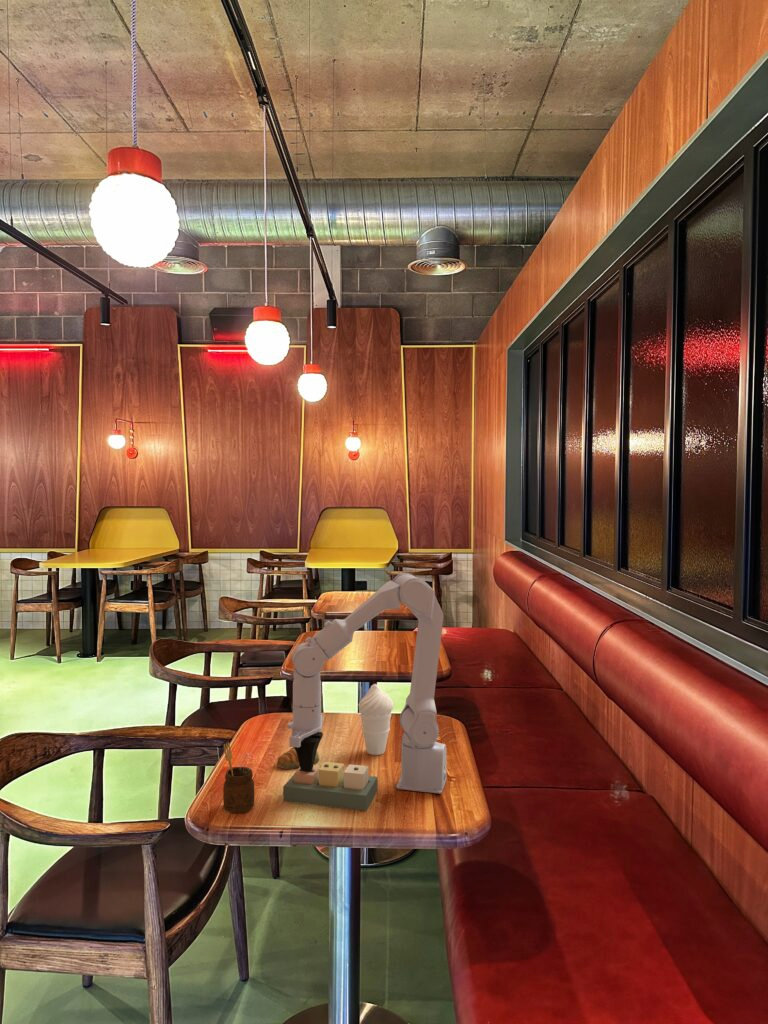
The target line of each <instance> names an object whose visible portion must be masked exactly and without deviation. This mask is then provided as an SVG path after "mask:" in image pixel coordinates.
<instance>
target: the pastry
mask: <svg viewBox="0 0 768 1024" xmlns="http://www.w3.org/2000/svg"><path fill="white" fill-rule="evenodd" d="M319 761H320V755H319V752H318V751H317V752H316V756H315V761H314V765H315V764H317V763H319ZM276 766H277V767H279V768H282V769H284V770H291V769H299V768H300V765H299V760H298V756H297V753H296V751H295V748H294V747H290V749H289V750H288V751H285V752H283V753H282V754H281V755H280V756H278V757H277V762H276Z"/></svg>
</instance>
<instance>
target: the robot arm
mask: <svg viewBox="0 0 768 1024" xmlns="http://www.w3.org/2000/svg"><path fill="white" fill-rule="evenodd" d="M401 604H402V605H403V606H405V607H407V608H408V609H409V611H411V613H412V614H413V615H414V617H415V618H416V619H417V621H418V623H417V630H416V631H417V632H416V638H415V647H414V656H413V662H412V663H413V665H412V674H411V680H410V682H411V683H410V691H409V693H408V695H407V697H406V699H405V704H404V707H403V708H402V710H401V713H400V715H399V724H400V727H401V728H402V730H404V732H403V734H402V737H401V751H400V752H401V757H400V758H401V759H400V760H401V762H400V764H401V766H400V768H401V770H400V772H401V773H400V775H401V776H400V778H399V780H398V782H397V784H396V787H395V788H396V789H397V790H405V791H413V792H423V793H432V794H439V795H440V794H442V792H443V791H444V787H445V784H446V782H447V745H446V744H445V743H440V742H438V741H437V740H438V738H439V733H440V728H439V724H438V723H437V721H438V720H437V714H438V713H437V708H436V703H435V692H436V685H437V683H436V682H437V674H438V667H439V659H440V649H441V642H442V633H443V625H444V612H443V609H442V608H441V606H440V603H439V602H438V599H437V596H436V594H435V590H434V589H433V588H432V587H431V586H430V584H428V583H427V582H426V581H425V580H424V579H422V578H418V577H416V576H415V575H413V574H411V573H409V572H403V573H399V574H397V575H396V576H395V577H394V578H393V579H392V580H388V581H387V582H385V583H384V584H383V585H382V586H381V587H379V589H378V590H376V592H374V593H373V594H372V595H371V596H369V597H368V598H367V599H366V600H365V601H364V602H363V603H361V604H360V605H359V606H358V607H357V608H356V609H355V610H353V611H352V612H351V613H350V614H349V615H348V616H347V617H345V618H344V619H339V618H338V619H337V618H335V619H333V620H332V621H330V620H327V621H326V622H325V623H324V627H323V628H322V629H321V630H319V631H318V632H316V634H314V635H313V636H312V637H311V636H308V637H307V638H305V641H306V642H302V643H300V644H298V645H296V647H295V648H294V649H293V652H292V654H291V656H290V657H291V659H290V660H291V662H292V665H293V666H294V668H293V675H292V678H293V680H292V721H290V722H288V723H287V725H286V727H287V729H289V730H291V732H290V733H291V734H290V736H289V742H288V743H289V748H293V747H294V748H295V751H296V753H297V756H298V760H299V765H300V768H301V771H308V772H310V771H311V770H312V769H313V767H315V766H314V765H315V764H314V761H315V756H316V752H318V748H319V744H320V743H321V740H322V738H323V737H324V736H323V735H324V733H323V732H322V730H323V722H324V721H323V720H324V719H323V718H324V714H322V681H321V680H322V679H321V672H322V671H323V668H324V664H325V662H328V661H329V660H331V659H332V658H333V657H334V656H336V655H337V654H338V653H339V652H340V651H342V650H343V649H345V647H347V646H348V645H349V644H351V643H352V642H353V637H354V633H355V632H356V631H358V630H359V629H360V628H362V627H363V626H365V625H366V624H367V623H369V622H370V621H371V620H373V619H374V618H376V617H377V616H378V615H379V614H381V613H382V612H384V611H385V610H401V609H402V606H401Z"/></svg>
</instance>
